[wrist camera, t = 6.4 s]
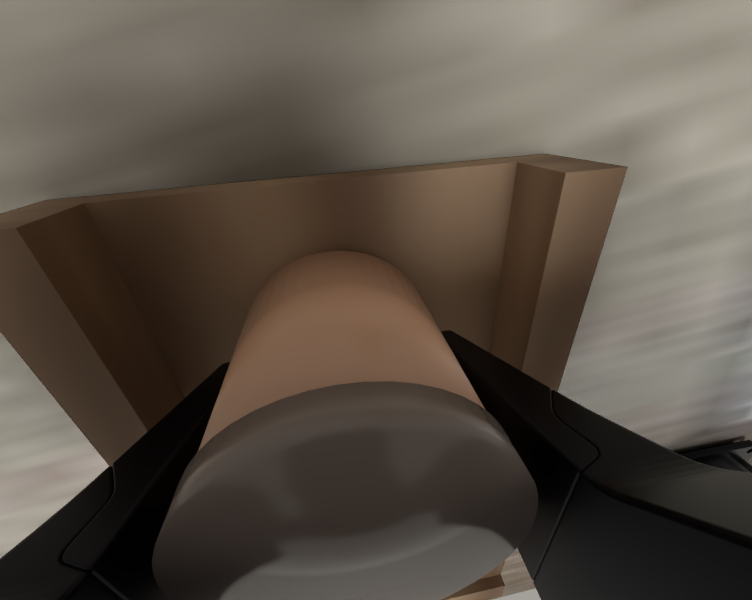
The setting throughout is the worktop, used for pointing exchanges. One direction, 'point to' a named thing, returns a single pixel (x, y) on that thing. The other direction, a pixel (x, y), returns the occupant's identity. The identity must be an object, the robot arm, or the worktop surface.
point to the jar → (343, 453)
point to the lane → (276, 250)
